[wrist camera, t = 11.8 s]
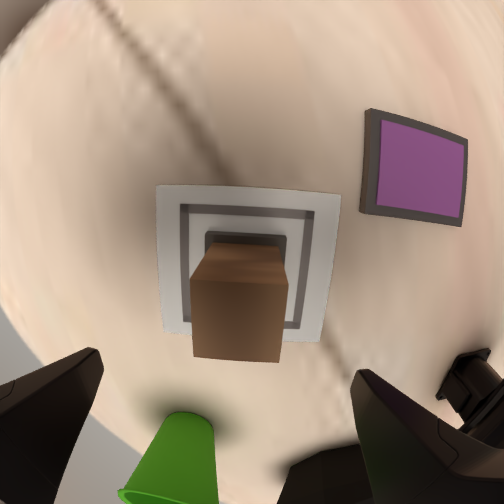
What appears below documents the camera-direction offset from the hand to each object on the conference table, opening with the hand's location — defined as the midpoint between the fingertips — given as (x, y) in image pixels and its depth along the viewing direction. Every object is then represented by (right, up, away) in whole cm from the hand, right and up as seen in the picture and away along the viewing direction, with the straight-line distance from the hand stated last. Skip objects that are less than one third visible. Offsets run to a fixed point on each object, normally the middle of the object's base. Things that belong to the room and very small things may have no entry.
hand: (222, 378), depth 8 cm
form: (0, +3, +10) cm, 11 cm away
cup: (-6, -14, +16) cm, 22 cm away
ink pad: (+13, +10, +8) cm, 18 cm away
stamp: (0, +3, +10) cm, 10 cm away
